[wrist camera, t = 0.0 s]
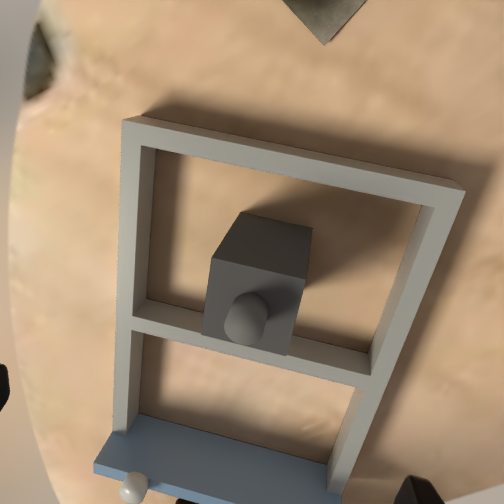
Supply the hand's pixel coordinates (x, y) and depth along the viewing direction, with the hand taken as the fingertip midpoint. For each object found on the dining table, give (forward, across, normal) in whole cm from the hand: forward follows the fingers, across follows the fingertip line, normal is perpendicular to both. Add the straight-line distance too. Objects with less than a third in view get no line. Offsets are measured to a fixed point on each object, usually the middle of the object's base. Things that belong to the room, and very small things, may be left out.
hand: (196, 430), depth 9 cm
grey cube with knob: (+15, 0, +2) cm, 15 cm away
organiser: (+15, 0, +7) cm, 16 cm away
